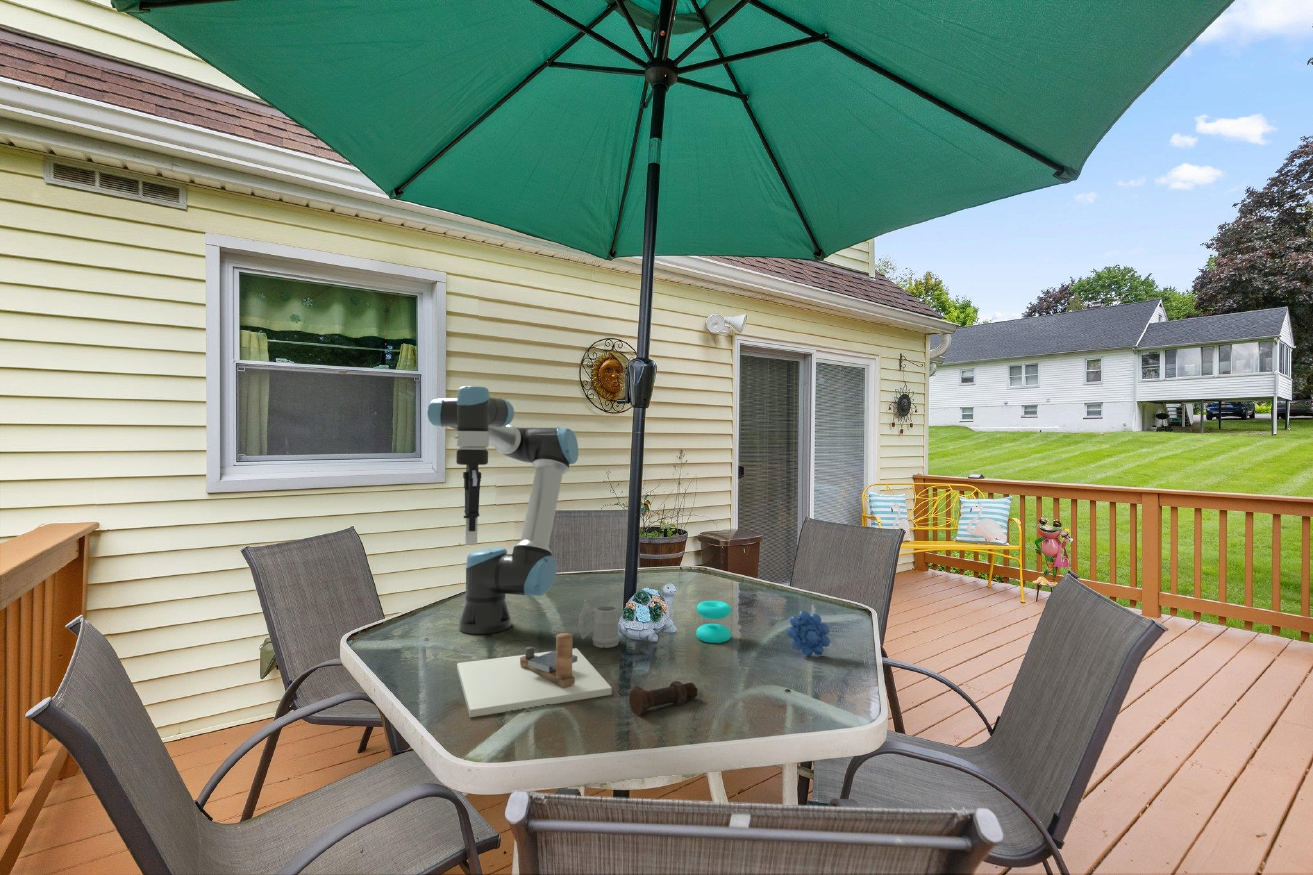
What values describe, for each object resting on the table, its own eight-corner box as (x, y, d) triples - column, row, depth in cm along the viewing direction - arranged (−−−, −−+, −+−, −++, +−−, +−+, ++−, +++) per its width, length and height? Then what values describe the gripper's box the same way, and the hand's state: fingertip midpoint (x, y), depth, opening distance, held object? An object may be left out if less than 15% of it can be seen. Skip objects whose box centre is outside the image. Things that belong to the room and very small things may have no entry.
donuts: (694, 607, 167) (698, 598, 177) (694, 643, 167) (698, 632, 177) (730, 609, 165) (732, 600, 175) (730, 645, 165) (731, 634, 175)
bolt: (695, 708, 129) (636, 722, 121) (684, 689, 133) (626, 701, 125) (704, 689, 127) (644, 702, 119) (693, 671, 131) (634, 682, 123)
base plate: (457, 669, 145) (457, 663, 145) (576, 653, 157) (576, 648, 157) (469, 717, 119) (469, 709, 119) (611, 694, 131) (611, 687, 131)
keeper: (556, 670, 145) (556, 649, 145) (577, 677, 141) (577, 656, 141) (527, 681, 138) (528, 660, 138) (548, 689, 134) (549, 667, 134)
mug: (617, 648, 161) (618, 604, 162) (574, 647, 162) (575, 603, 162) (621, 639, 169) (621, 597, 169) (580, 638, 170) (580, 596, 170)
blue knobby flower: (792, 662, 152) (792, 615, 153) (784, 653, 159) (784, 608, 159) (836, 661, 154) (836, 615, 154) (826, 652, 160) (826, 608, 160)
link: (516, 663, 144) (517, 620, 144) (533, 659, 147) (533, 617, 147) (560, 688, 130) (561, 639, 130) (577, 683, 133) (577, 635, 133)
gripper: (454, 448, 152) (453, 540, 152) (459, 448, 140) (457, 549, 140) (484, 448, 155) (483, 539, 155) (491, 449, 143) (490, 547, 143)
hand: (471, 543), depth 148 cm, fingers closed
